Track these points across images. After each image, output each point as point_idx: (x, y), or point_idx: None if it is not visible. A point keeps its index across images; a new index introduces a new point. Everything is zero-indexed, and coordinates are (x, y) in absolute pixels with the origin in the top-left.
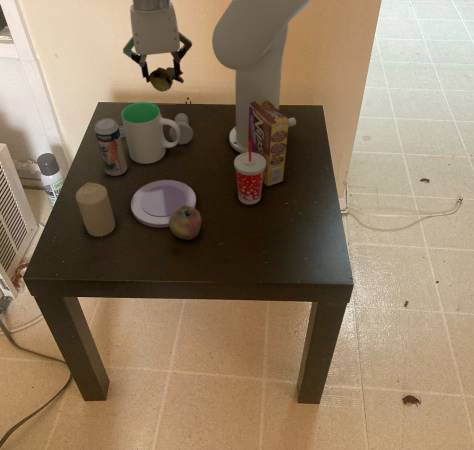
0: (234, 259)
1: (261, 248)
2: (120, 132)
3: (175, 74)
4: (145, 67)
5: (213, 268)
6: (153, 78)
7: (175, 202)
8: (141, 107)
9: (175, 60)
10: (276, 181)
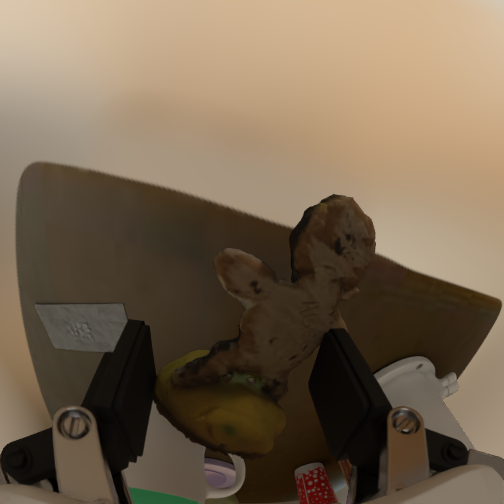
0: (259, 498)
1: (287, 493)
2: (84, 334)
3: (316, 405)
4: (131, 461)
5: (238, 501)
6: (178, 364)
7: (211, 482)
8: (148, 479)
9: (353, 470)
10: None
